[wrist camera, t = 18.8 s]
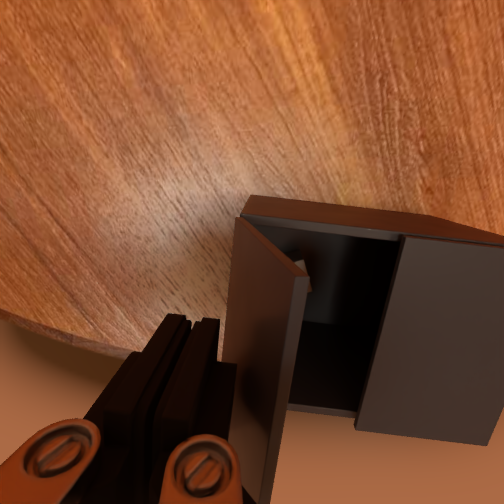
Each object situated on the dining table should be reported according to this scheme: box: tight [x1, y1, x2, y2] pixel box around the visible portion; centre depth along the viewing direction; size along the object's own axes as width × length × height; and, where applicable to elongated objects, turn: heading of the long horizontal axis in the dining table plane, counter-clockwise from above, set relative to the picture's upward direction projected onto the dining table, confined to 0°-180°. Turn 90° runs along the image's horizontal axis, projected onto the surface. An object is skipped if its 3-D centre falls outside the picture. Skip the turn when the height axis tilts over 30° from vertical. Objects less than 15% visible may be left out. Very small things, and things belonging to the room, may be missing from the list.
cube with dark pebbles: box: [285, 250, 312, 293], centre depth 19 cm, size 2×2×2 cm
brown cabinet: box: [240, 195, 504, 446], centre depth 16 cm, size 12×9×9 cm
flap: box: [222, 217, 310, 504], centre depth 9 cm, size 6×9×1 cm
